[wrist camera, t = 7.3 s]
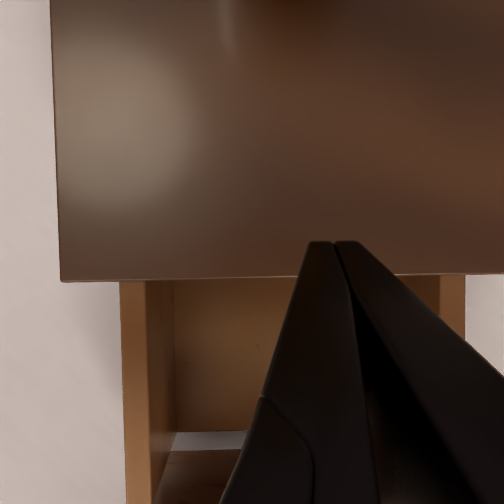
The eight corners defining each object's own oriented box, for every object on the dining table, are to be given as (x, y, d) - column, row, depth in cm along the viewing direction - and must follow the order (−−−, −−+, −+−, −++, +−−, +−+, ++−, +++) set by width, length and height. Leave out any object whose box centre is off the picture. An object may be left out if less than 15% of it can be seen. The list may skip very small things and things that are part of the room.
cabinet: (416, 256, 20) (532, 273, 12) (133, 262, 20) (58, 283, 12) (417, -68, 20) (539, -280, 12) (124, -66, 20) (36, -282, 11)
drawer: (411, 565, 20) (488, 719, 14) (151, 573, 20) (108, 733, 14) (411, 170, 19) (493, 141, 13) (139, 175, 19) (87, 146, 13)
